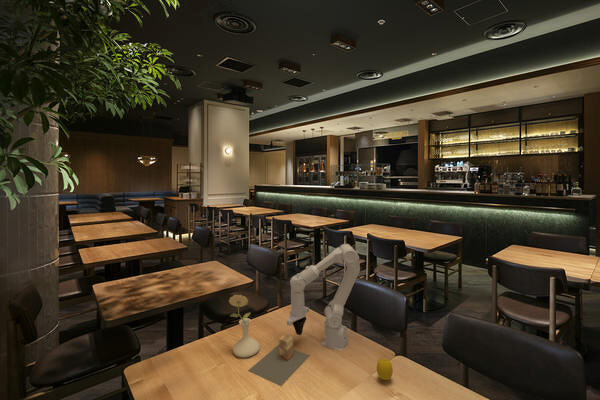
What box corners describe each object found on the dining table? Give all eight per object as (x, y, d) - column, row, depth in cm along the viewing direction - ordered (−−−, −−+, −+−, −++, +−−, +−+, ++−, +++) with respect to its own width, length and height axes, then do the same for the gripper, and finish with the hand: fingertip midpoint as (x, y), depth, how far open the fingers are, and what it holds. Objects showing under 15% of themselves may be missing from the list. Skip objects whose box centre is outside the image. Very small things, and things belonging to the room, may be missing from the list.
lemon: (374, 375, 108) (374, 354, 107) (389, 373, 108) (389, 353, 107) (379, 386, 102) (379, 364, 101) (395, 384, 103) (395, 363, 102)
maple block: (293, 355, 120) (292, 337, 120) (287, 360, 117) (287, 341, 116) (285, 352, 123) (284, 334, 122) (279, 357, 119) (278, 339, 118)
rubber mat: (310, 356, 120) (310, 355, 120) (281, 387, 103) (281, 386, 103) (279, 345, 129) (279, 344, 129) (247, 371, 112) (247, 370, 112)
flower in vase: (264, 346, 128) (261, 291, 126) (252, 362, 118) (248, 302, 115) (238, 341, 133) (235, 288, 130) (224, 357, 122) (220, 299, 119)
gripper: (299, 295, 134) (300, 324, 135) (280, 308, 122) (281, 339, 123) (312, 298, 130) (313, 328, 132) (294, 312, 118) (295, 344, 120)
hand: (299, 333), depth 127 cm, fingers closed
